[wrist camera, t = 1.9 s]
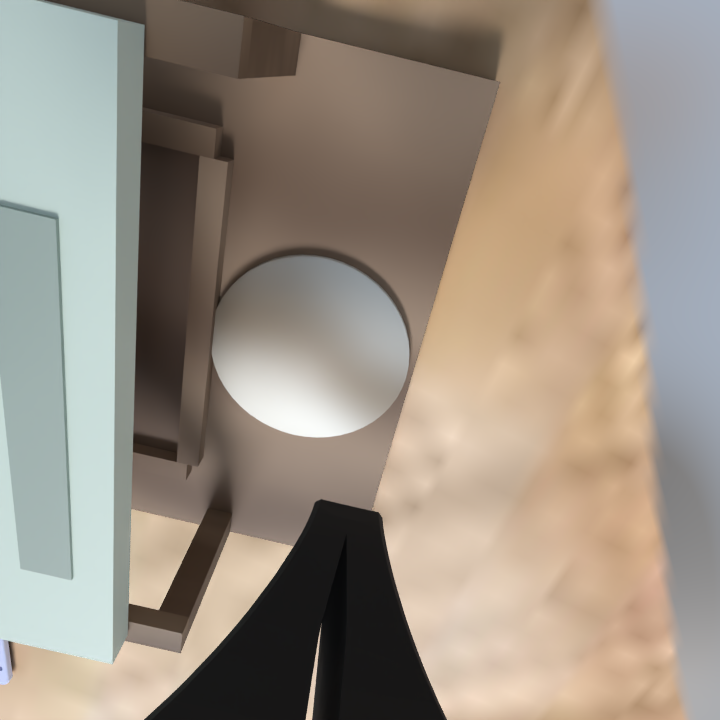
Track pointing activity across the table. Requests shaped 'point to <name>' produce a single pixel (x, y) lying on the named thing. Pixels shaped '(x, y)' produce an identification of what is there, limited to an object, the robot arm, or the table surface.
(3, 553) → the slide cover
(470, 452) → the table surface
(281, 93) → the puzzle board
